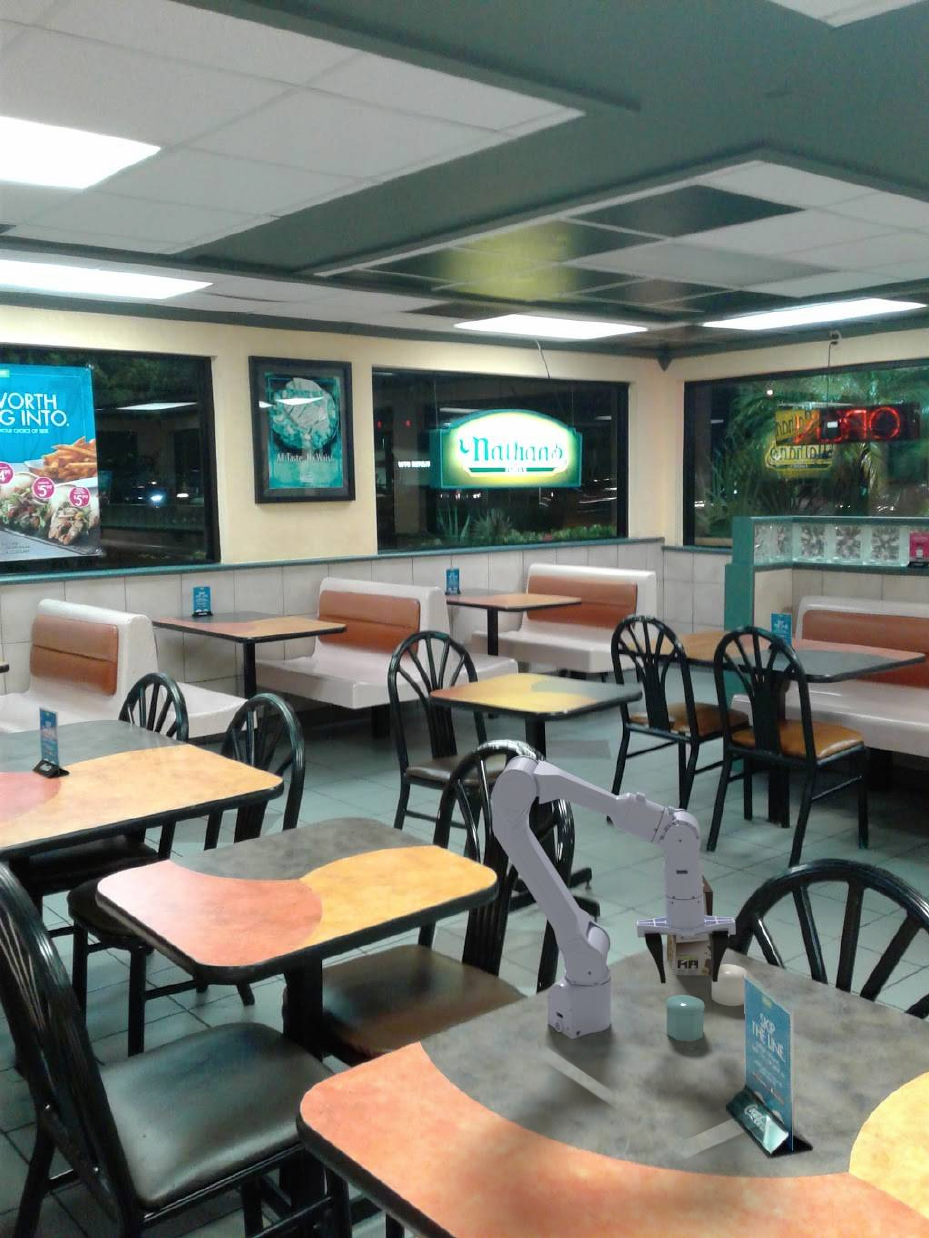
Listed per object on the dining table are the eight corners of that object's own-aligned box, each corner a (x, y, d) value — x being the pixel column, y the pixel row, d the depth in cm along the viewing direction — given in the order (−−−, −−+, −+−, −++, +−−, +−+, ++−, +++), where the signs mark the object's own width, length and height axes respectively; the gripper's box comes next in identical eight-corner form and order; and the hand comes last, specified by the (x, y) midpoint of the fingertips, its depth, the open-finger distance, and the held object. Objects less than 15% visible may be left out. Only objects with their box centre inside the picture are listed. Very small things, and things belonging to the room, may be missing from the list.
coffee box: (712, 983, 187) (714, 892, 185) (674, 983, 187) (675, 891, 185) (702, 960, 196) (703, 873, 194) (665, 960, 196) (667, 873, 194)
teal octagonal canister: (684, 1054, 163) (685, 1015, 163) (657, 1038, 168) (658, 1001, 167) (711, 1043, 166) (712, 1005, 166) (684, 1028, 171) (685, 991, 170)
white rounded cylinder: (729, 1018, 174) (730, 982, 174) (703, 1004, 179) (704, 969, 178) (754, 1008, 178) (755, 973, 177) (727, 995, 182) (728, 961, 181)
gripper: (636, 904, 162) (641, 992, 163) (736, 901, 160) (741, 990, 162) (633, 887, 169) (639, 972, 170) (730, 884, 167) (734, 969, 169)
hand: (688, 979), depth 167 cm, fingers open, 7 cm apart
